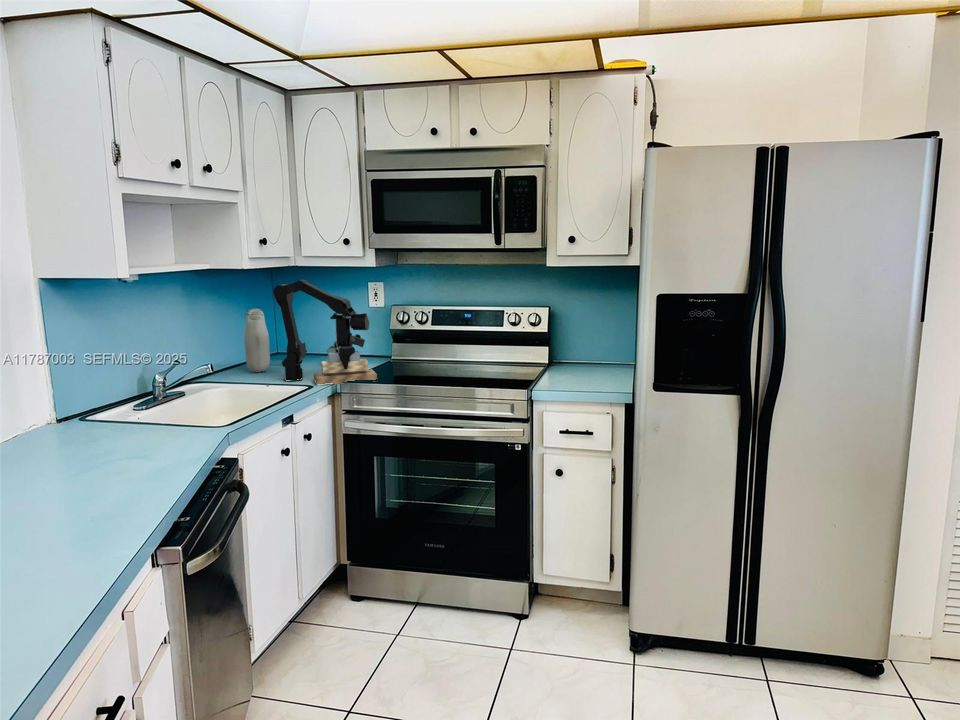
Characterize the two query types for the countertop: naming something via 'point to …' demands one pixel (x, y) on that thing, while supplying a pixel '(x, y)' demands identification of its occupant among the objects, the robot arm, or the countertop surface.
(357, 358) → the crate
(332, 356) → the crate
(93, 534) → the countertop surface
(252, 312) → the grey bottle
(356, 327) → the robot arm
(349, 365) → the light wooden block
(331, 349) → the flower pot
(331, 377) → the dock
